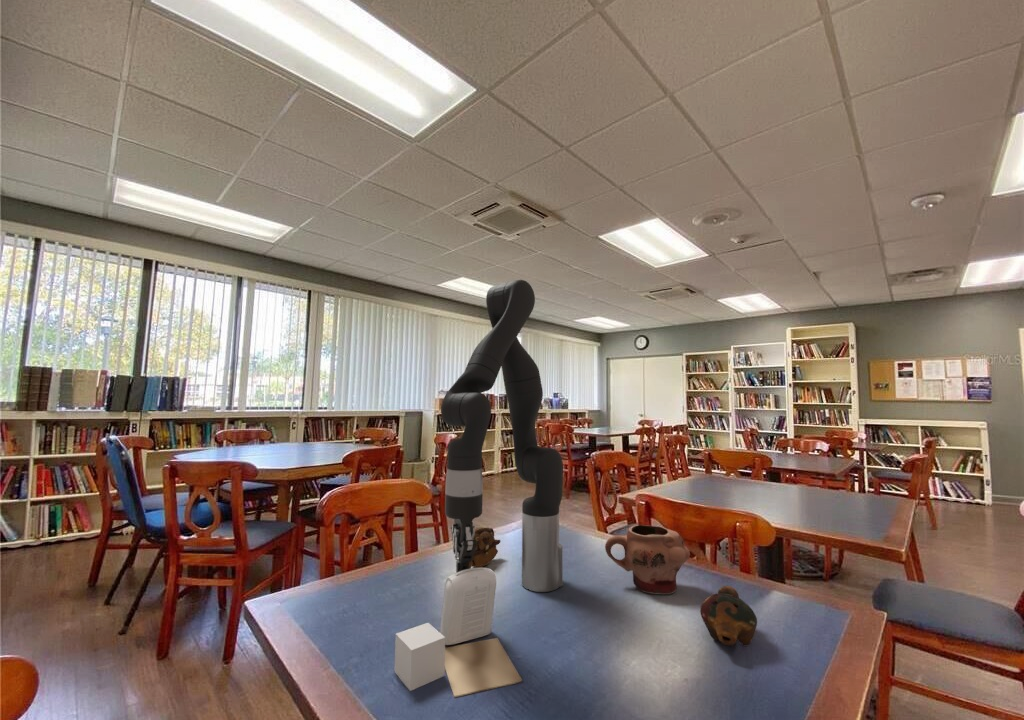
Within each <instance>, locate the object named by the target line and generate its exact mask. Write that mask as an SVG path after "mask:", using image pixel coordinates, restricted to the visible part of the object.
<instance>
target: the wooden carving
mask: <svg viewBox="0 0 1024 720" xmlns="http://www.w3.org/2000/svg"><path fill="white" fill-rule="evenodd" d="M473 540H476V541H477V546H476V549H475V553H474V557H473V560H472V562H469V569H470V568H484V567H486V566H487V565H489V564H490V563H491V562H492V561H493V560H494V559H495V557H496V556H497V554H498V553H499V550H498V549H497V546H498V545H500V543H501V539H495V531H494V528H492V527H488V526H487V527H483V526H482V527H481V526H480V527H479V526H477V527H475V535H474V538H473ZM485 565H486V566H485ZM483 566H484V567H483Z"/></svg>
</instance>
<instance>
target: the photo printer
mask: <svg viewBox="0 0 1024 720" xmlns="http://www.w3.org/2000/svg"><path fill="white" fill-rule="evenodd" d="M444 583H445V584H444V593H443V598H442V599H443V600H442V608H441V609H442V610H441V617H440V627H439V632H440V633H441V634H442V635H443V636H444V637H445V646H446V645H447V646H451V645H452V646H453V645H456V644H460V643H463V642H468V641H471V640H475V639H478V638H482V637H485V636H488V635H490V634H491V632H492V629H493V628H492V627H493V620H494V619H493V618H494V617H493V616H494V607H495V599H496V590H497V575H496V573H495V571H493V570H492V569H491V568H488V567H471V568H470V569H465V570H462V571H459V572H457V573H456V572H455V573H452V574H451V575H449V576H448V577H446V580H445V582H444Z"/></svg>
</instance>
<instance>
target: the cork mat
mask: <svg viewBox="0 0 1024 720" xmlns="http://www.w3.org/2000/svg"><path fill="white" fill-rule="evenodd" d="M444 671H445V673H446V677H447V679H448V682H449V685H450V688H451V691H452V694H453V695H452V696H453V698H457V697H458V698H459V697H462V696H463V697H464V696H466V695H472V694H475V693H480V692H485V691H488V690H493V689H497V688H502V687H506V686H511V685H514V684H518V683H522V682H523V680H522V677H521V676H520V674H519V673H518V670H517V669H516V667H515V665H514V664H513V662H512V661H511V659H510V657H509V655H508V653H507V652H506V650H505V649H504V647H503V645H502V643H501V642H500V640H499V638H498V637H495V638H489V639H485V640H479V641H473V642H468V643H463V644H458V645H454V646H453V645H452V646H447V647H446V646H445V667H444Z"/></svg>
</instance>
